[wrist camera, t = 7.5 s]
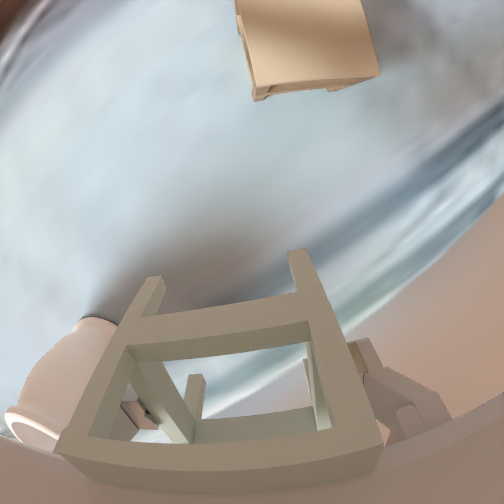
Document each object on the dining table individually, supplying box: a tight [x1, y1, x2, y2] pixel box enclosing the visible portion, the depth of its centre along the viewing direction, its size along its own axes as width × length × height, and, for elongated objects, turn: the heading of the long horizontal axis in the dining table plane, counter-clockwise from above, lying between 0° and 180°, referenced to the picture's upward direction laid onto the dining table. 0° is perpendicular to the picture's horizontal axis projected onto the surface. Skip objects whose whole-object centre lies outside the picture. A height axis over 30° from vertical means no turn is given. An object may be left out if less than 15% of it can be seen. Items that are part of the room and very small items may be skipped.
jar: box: [4, 317, 118, 453], centre depth 22 cm, size 11×10×15 cm
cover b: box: [57, 248, 384, 494], centre depth 9 cm, size 6×6×8 cm
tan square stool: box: [234, 0, 380, 102], centre depth 15 cm, size 6×6×8 cm
